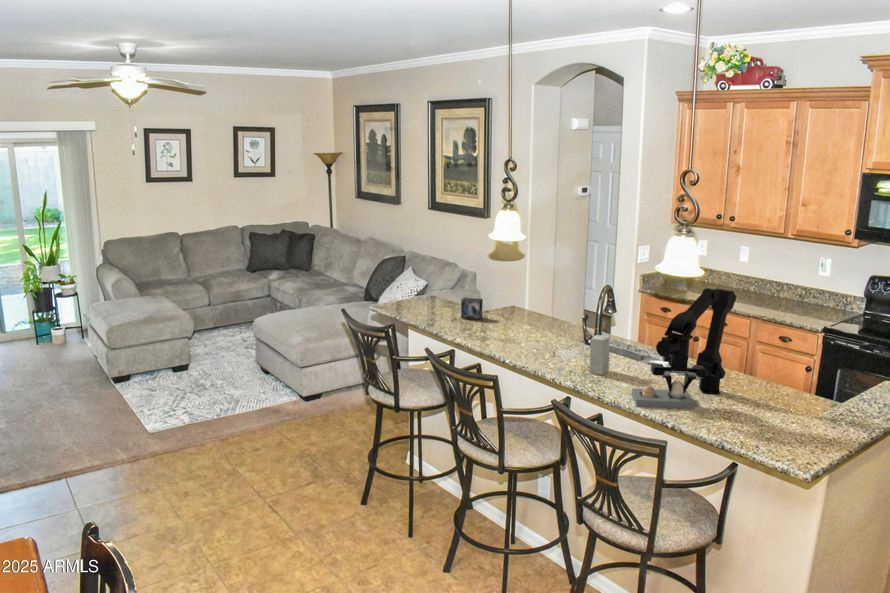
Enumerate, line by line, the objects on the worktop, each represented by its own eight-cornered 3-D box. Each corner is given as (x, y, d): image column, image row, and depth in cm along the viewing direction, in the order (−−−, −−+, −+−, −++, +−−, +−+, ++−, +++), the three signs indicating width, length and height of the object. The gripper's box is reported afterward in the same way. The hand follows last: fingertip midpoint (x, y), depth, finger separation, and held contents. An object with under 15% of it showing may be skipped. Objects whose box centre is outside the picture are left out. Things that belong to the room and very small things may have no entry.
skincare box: (602, 375, 285) (604, 340, 282) (588, 373, 288) (590, 338, 285) (608, 369, 292) (610, 335, 289) (594, 367, 295) (596, 333, 292)
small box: (460, 319, 375) (460, 299, 373) (463, 316, 381) (463, 297, 379) (479, 320, 372) (480, 301, 370) (482, 317, 378) (482, 298, 376)
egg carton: (686, 397, 261) (688, 382, 260) (693, 409, 250) (695, 393, 248) (631, 394, 264) (632, 379, 262) (636, 406, 252) (637, 391, 251)
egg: (681, 394, 257) (682, 379, 256) (684, 398, 253) (685, 383, 252) (669, 393, 258) (670, 378, 257) (671, 397, 254) (672, 382, 252)
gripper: (701, 346, 258) (698, 386, 262) (649, 344, 261) (647, 384, 264) (709, 355, 248) (705, 397, 251) (654, 353, 250) (651, 394, 253)
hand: (676, 392), depth 255 cm, fingers closed on egg, 4 cm apart
